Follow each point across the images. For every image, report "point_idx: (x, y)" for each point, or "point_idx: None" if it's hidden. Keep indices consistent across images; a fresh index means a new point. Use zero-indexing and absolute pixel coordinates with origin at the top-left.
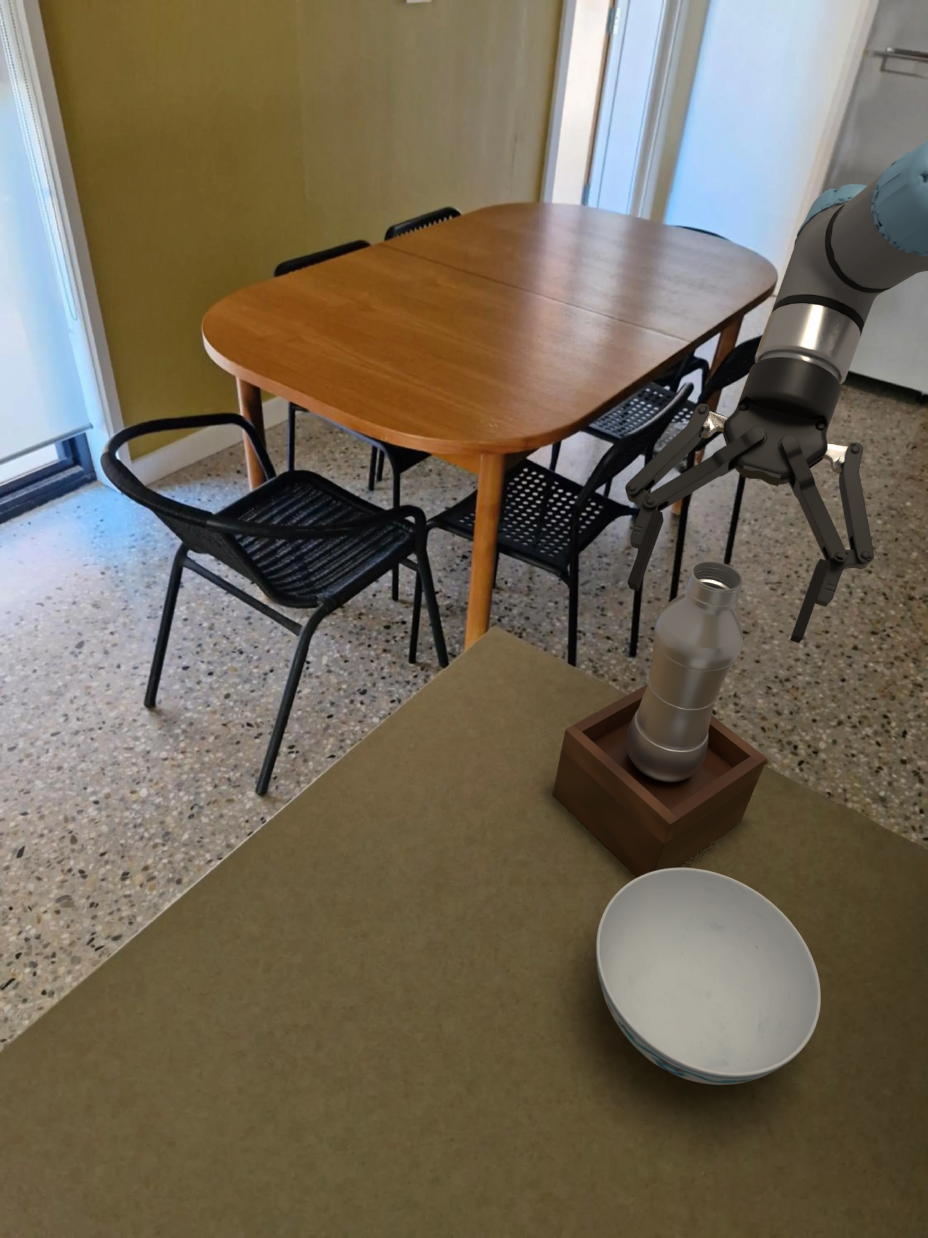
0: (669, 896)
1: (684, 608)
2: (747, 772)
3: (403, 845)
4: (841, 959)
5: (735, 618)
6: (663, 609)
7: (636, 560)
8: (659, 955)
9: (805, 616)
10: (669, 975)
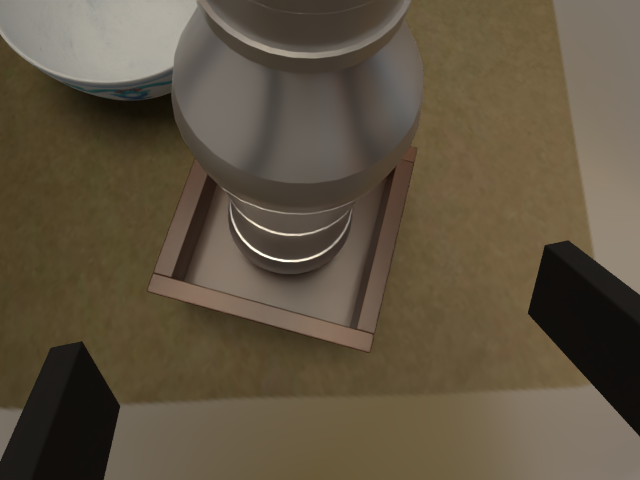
0: None
1: None
2: (164, 243)
3: (455, 53)
4: (27, 200)
5: (198, 50)
6: (416, 46)
7: (619, 282)
8: None
9: (41, 404)
10: (171, 61)
